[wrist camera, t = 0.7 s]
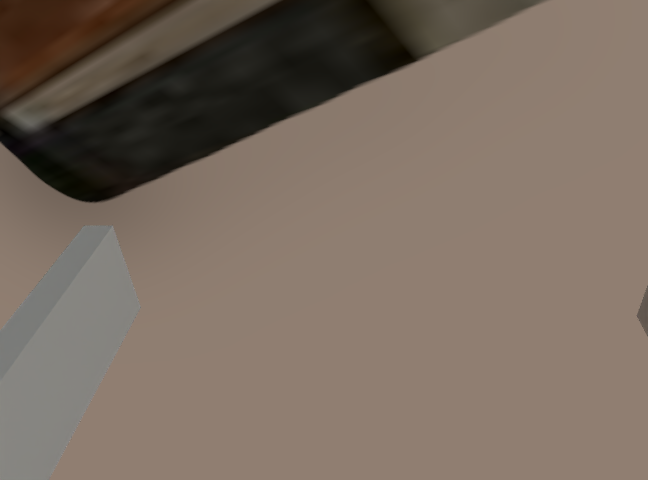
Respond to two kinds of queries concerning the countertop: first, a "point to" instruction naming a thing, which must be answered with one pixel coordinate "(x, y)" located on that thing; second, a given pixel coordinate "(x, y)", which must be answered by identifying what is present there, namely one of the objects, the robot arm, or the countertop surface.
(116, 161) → the countertop surface
